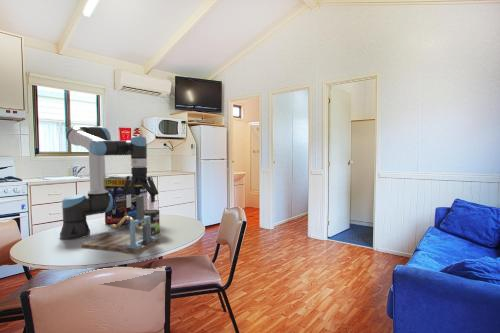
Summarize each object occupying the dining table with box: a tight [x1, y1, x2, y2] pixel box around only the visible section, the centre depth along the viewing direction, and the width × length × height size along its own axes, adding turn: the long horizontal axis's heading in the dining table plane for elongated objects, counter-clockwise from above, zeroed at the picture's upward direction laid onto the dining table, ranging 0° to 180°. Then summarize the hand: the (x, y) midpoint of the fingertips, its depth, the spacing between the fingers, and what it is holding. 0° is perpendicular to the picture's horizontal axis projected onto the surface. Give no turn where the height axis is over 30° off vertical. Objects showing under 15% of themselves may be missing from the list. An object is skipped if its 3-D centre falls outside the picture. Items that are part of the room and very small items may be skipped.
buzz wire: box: [109, 216, 151, 245], centre depth 149 cm, size 24×3×14 cm, turn 74°
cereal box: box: [104, 176, 148, 226], centre depth 195 cm, size 27×11×32 cm, turn 80°
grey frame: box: [125, 195, 157, 249], centre depth 146 cm, size 8×15×25 cm, turn 164°
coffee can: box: [141, 209, 161, 237], centre depth 167 cm, size 10×10×14 cm
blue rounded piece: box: [125, 210, 141, 229], centre depth 181 cm, size 12×7×12 cm, turn 74°
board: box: [81, 233, 160, 254], centre depth 151 cm, size 34×18×2 cm, turn 74°
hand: (140, 207), depth 146 cm, fingers open, 13 cm apart
